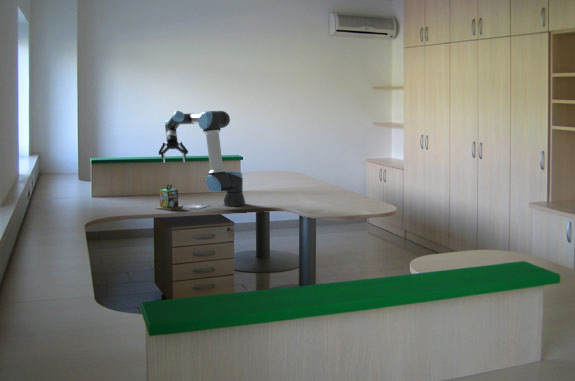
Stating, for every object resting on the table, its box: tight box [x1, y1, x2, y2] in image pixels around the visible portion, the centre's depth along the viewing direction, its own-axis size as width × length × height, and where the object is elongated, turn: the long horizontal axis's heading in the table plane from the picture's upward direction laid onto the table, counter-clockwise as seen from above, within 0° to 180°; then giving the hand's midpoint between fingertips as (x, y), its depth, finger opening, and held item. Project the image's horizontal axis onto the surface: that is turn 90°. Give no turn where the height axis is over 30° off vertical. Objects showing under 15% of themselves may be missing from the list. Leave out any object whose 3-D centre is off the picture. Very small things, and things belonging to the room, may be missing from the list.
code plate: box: [180, 203, 211, 210], centre depth 432 cm, size 14×14×1 cm
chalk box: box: [159, 184, 179, 208], centre depth 428 cm, size 9×9×15 cm
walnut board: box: [155, 204, 184, 211], centre depth 429 cm, size 13×13×1 cm
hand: (174, 161), depth 442 cm, fingers open, 13 cm apart
